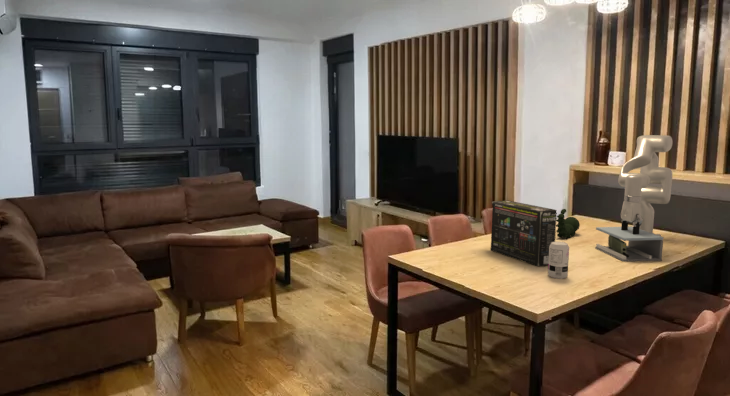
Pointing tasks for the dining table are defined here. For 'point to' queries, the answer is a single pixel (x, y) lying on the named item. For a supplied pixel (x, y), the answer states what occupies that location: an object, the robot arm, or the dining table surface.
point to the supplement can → (558, 260)
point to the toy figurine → (566, 225)
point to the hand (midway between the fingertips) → (630, 232)
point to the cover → (628, 234)
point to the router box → (523, 231)
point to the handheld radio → (617, 245)
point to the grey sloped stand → (637, 250)
